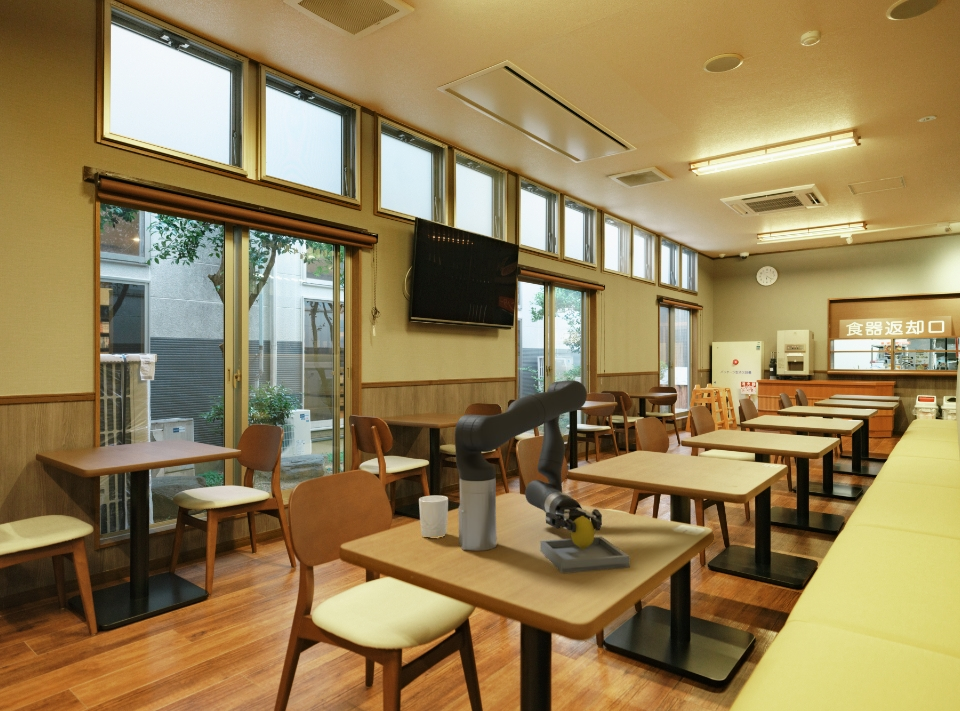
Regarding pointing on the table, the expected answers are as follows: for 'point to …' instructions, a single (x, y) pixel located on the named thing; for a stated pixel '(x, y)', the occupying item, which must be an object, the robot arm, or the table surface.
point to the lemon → (583, 533)
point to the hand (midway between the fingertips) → (586, 527)
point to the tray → (584, 555)
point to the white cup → (433, 515)
